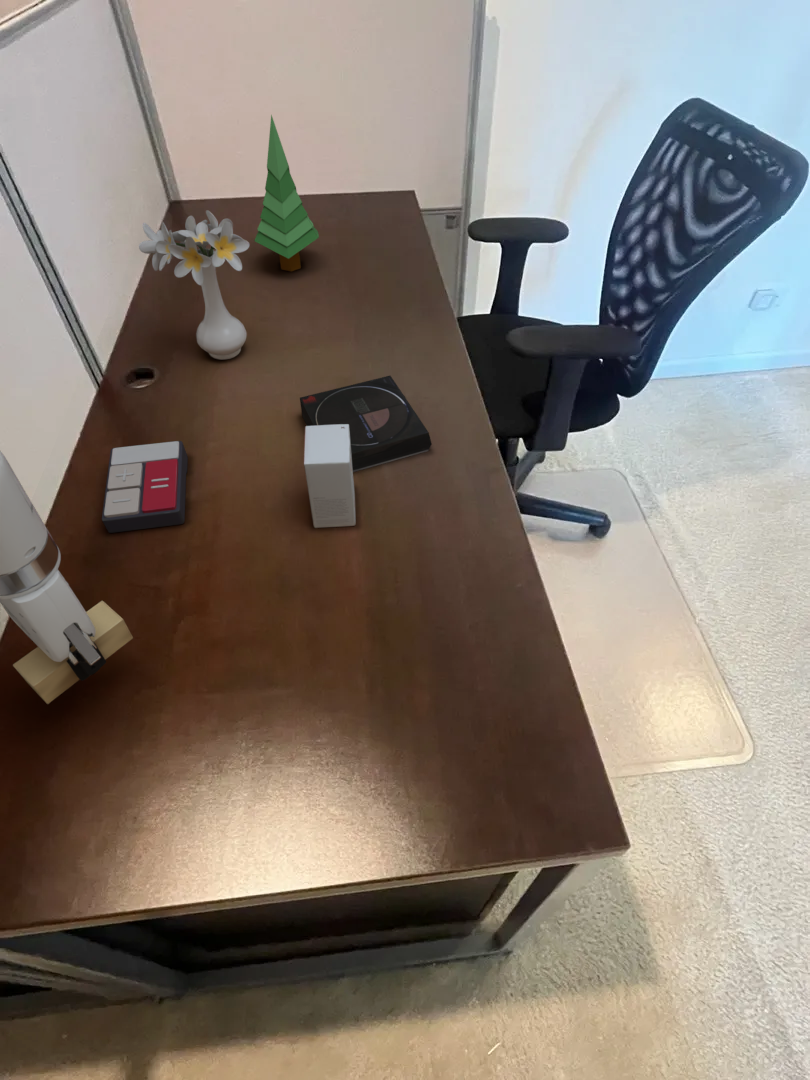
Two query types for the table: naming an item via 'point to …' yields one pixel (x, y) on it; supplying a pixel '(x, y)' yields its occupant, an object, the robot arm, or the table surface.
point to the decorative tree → (283, 210)
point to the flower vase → (204, 275)
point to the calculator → (145, 487)
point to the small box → (329, 475)
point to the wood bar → (59, 675)
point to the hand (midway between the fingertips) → (80, 657)
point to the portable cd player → (370, 421)
